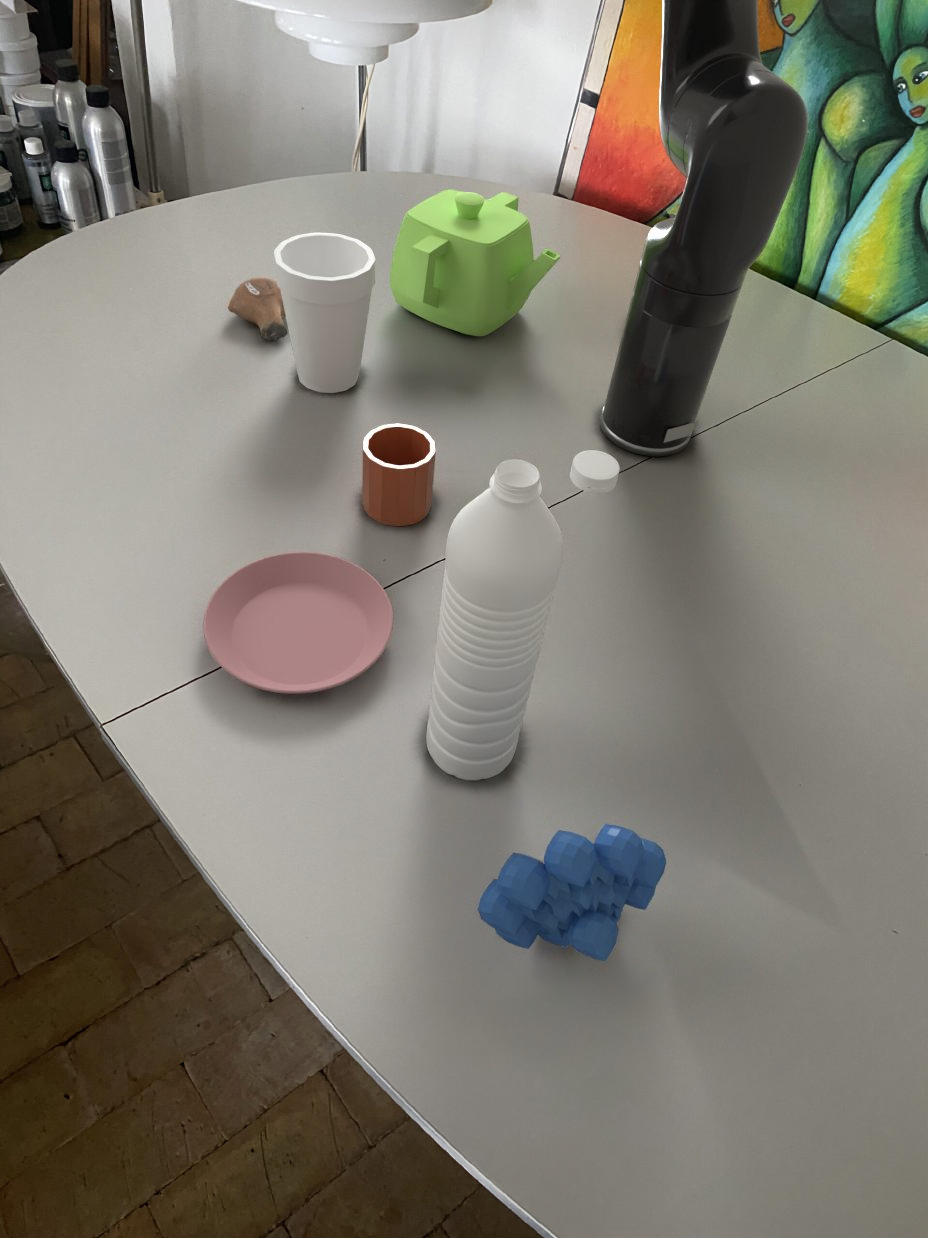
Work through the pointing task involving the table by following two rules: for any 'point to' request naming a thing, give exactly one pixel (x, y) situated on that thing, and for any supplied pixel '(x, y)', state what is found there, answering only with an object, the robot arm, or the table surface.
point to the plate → (298, 622)
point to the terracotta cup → (398, 474)
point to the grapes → (574, 890)
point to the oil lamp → (260, 306)
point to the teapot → (466, 261)
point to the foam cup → (326, 305)
